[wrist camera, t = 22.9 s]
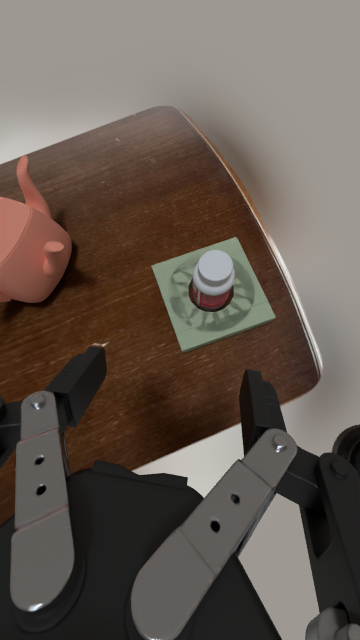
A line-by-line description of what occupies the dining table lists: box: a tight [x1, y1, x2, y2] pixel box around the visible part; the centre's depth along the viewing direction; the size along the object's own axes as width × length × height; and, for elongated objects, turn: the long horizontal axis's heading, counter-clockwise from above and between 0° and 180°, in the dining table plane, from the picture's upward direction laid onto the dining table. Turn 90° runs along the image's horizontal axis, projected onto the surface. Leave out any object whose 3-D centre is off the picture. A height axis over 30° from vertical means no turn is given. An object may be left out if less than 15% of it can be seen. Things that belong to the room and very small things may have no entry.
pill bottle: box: [193, 250, 235, 311], centre depth 38 cm, size 6×6×11 cm
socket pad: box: [152, 237, 276, 353], centre depth 42 cm, size 16×16×2 cm
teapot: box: [0, 156, 72, 303], centre depth 40 cm, size 18×18×14 cm
